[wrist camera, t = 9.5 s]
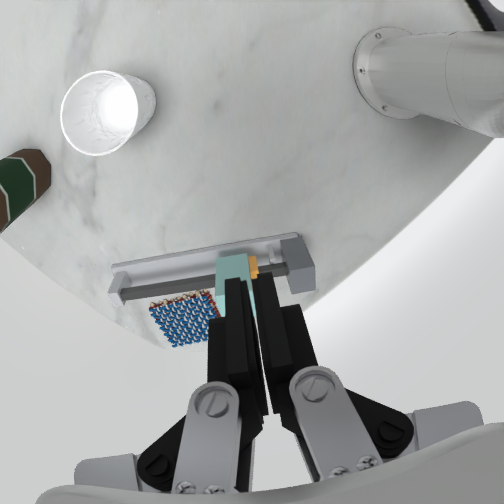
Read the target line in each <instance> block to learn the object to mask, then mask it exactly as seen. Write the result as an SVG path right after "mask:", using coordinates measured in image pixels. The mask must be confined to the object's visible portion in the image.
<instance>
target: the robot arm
mask: <svg viewBox="0 0 504 504" xmlns="http://www.w3.org/2000/svg"><path fill="white" fill-rule="evenodd" d="M375 36H376V37H375ZM353 66H354V75H355V80H356V83H357V85H358V88H359V90H360V92H361V94H362V95H363V97H364V98H365V100H366V101H367V102H368V103H369V104H370V105H371V106H372V107H373V108H374V109H375V110H377V111H378V112H380V113H382V114H383V115H386V116H389V117H391V118H396V119H410V118H414V117H416V116H418V115H420V114H424V115H427V116H431V117H434V118H437V119H440V120H444V121H447V122H450V123H453V124H456V125H458V126H461V127H464V128H467V129H470V130H472V131H475V132H478V133H481V134H483V135H486V136H489V137H494V138H504V31H499V32H494V31H489V32H484V31H472V32H444V33H430V34H420V35H412V34H411V33H409V32H407V31H405V30H403V29H399V28H395V27H385V28H380V29H377V30H374V31H372V32H370V33H368V34H367V35H366V36H365V37H364V38H363V39H362V40H361V41H360V43H359V45H358V46H357V49H356V52H355V55H354V63H353ZM359 69H360V70H361V73H360V71H359ZM382 106H383V109H382ZM251 281H252V288H253V296H254V303H255V310H256V317H257V324H258V332H259V339H260V346H261V353H262V360H263V366H264V372H265V377H266V381H267V386H268V390H269V395H270V399H271V404H272V409H273V413H274V414H277V413H280V417H281V422H282V426H283V427H284V428H286V429H288V430H289V431H291V432H293V433H294V436H295V438H296V441H297V444H298V446H299V449H300V452H301V454H302V457H303V460H304V462H305V465H306V467H307V470H308V473H309V475H310V477H311V480H312V483H310V484H305V485H299V486H293V487H288V488H282V489H274V490H266V491H257V492H252V479H253V466H254V452H255V437H256V436H257V435H258V434H259V433H260V432H261V431H262V429H263V427H262V424H264V421H263V416H265V415H269V414H268V406H267V399H266V391H265V385H264V377H263V369H262V363H261V355H260V348H259V340H258V334H257V329H256V324H255V319H254V314H253V309H252V304H251V299H250V294H249V290H248V285H247V280H243V281H241V279H240V277H236V278H230V279H225V281H224V283H225V317H218V318H211V319H209V324H208V374H207V376H208V378H207V379H208V380H207V383H206V384H203V385H202V386H200V387H199V388H197V389H196V390H195V391H194V393H193V394H192V396H191V398H190V401H189V405H188V410H187V414H186V415H185V416H184V417H183V418H182V419H181V420H179V421H178V422H177V423H176V424H175V425H174V426H173V427H172V428H170V429H169V430H168V431H167V432H166V433H165V434H164V435H163V436H161V437H160V438H159V439H158V440H157V441H155V442H154V443H153V444H152V445H151V446H149V447H148V448H147V449H146V450H145V451H144V452H143V453H142V454H139V455H134V454H125V455H119V456H111V457H103V458H95V459H86V460H83V461H81V462H80V463H79V464H78V465H77V466H76V468H75V472H74V481H75V485H65V486H59V487H55V488H52V489H50V490H47V491H46V492H44V493H43V494H41V496H40V497H39V498H38V499H37V501H36V503H35V504H504V423H502V422H501V423H491V424H486V425H484V423H483V419H482V415H481V412H480V409H479V408H478V407H477V406H476V405H475V404H474V403H472V402H469V401H463V402H458V403H454V404H448V405H443V406H438V407H433V408H427V409H420V410H415V411H414V412H413V413H408V414H403V413H402V412H399V411H397V410H395V409H392V408H389V407H387V406H385V405H382V404H380V403H377V402H375V401H373V400H371V399H368V398H366V397H364V396H361V395H359V394H357V393H355V392H352V391H350V390H348V389H346V388H344V387H343V385H342V383H341V381H340V379H339V377H338V376H337V375H336V374H335V372H333V371H332V370H330V369H329V368H326V367H323V366H318V363H317V360H316V357H315V353H314V350H313V346H312V343H311V339H310V336H309V333H308V329H307V326H306V323H305V320H304V316H303V313H302V310H301V307H300V305H299V304H296V305H290V306H285V307H280V305H279V300H278V296H277V292H276V287H275V283H274V279H273V275H272V271H271V272H265V273H260V274H257V278H255V279H251Z"/></svg>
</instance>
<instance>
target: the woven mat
mask: <svg viewBox="0 0 504 504" xmlns="http://www.w3.org/2000/svg"><path fill="white" fill-rule="evenodd" d="M203 291H204V293H200V292H199V291H196V294H195V295H194V294H193V293H192V292H190V293H189V294H190V296H191V297H187V295H185V294H184V295H183V296H182V297H183V298H184V299H181V297H176V298H177V300H176V299H175V301H174V299H170V300H171V301H172V302H171V301H167V300H163V302H164V303H162V302H161V301H160V300H159V301H158V302H159V304H160V305H156V304H154V303H151V304H150V305H151V307H150V308H149V311H150V312H151V311H152V312H153V314H151V316H153V317H154V319H155V318H156V321H155V322H156V323H158V325H161V326H162V325H163V326H162V327H160V330H162V331H165V332H167V333H164V336H167V338H169V339H168V341H169V342H171V343H173V344H174V343H175V345H172V347H177V346H182V347H184V346H183V345H186V344H190V345H192V343H194V344H195V342H197V343H199V342H200V341H201V342H204V341H205V342H207V340H208V324H209V319H211V318H218V317H220V314H218V313H219V312H218V311H217V308H216V307H215V306H214V305H215V302H213V300H211V298H212V297H211V295H210V294H209V293H208V292H207V290H206V289H203ZM209 295H210V296H209ZM204 300H205V301H204ZM164 305H165V306H164ZM154 312H155V313H154ZM207 319H208V320H207ZM170 338H171V339H170ZM197 339H198V340H197ZM182 342H183V343H182Z"/></svg>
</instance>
